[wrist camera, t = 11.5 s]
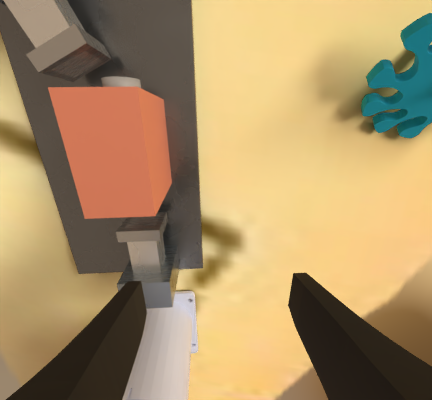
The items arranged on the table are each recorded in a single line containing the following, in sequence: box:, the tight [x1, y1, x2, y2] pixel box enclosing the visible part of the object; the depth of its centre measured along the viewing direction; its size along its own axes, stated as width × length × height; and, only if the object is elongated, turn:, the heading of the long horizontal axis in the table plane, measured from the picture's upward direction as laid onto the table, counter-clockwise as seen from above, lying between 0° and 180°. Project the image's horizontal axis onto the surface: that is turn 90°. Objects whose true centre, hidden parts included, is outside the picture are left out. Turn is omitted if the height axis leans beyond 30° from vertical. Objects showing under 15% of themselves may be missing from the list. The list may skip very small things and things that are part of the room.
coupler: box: [48, 76, 172, 219], centre depth 12 cm, size 8×4×6 cm, turn 1°
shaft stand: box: [0, 0, 203, 309], centre depth 13 cm, size 24×12×6 cm, turn 1°
